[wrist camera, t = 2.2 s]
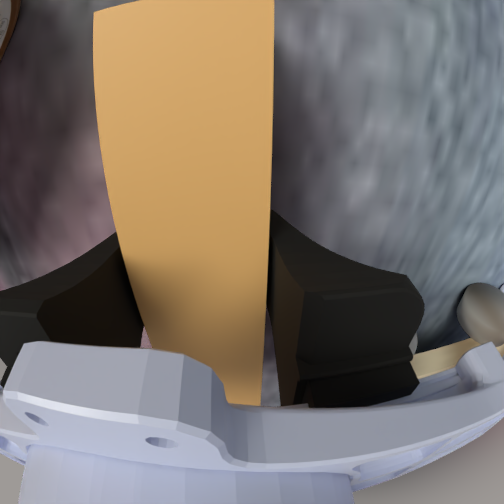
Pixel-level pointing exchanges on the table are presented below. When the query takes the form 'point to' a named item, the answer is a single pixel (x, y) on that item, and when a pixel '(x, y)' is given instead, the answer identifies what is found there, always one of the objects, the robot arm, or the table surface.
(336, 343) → the robot arm
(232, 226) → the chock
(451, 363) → the trolley
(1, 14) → the tin
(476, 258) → the table surface
